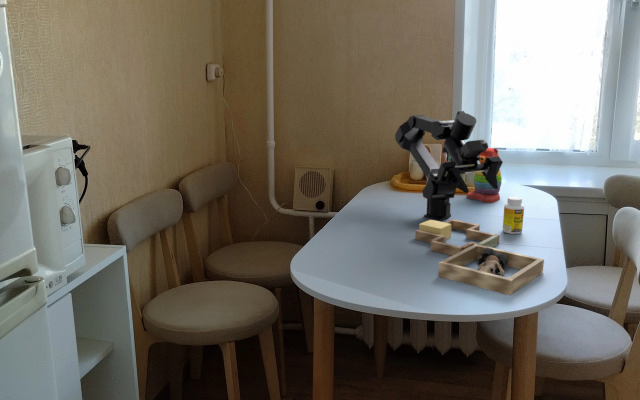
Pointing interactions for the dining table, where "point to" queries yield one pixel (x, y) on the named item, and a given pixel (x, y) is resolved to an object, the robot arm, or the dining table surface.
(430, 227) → the block
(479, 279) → the fence
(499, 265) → the toy figure
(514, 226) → the supplement bottle
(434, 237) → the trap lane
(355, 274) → the dining table surface
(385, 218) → the dining table surface
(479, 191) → the stacking bear
